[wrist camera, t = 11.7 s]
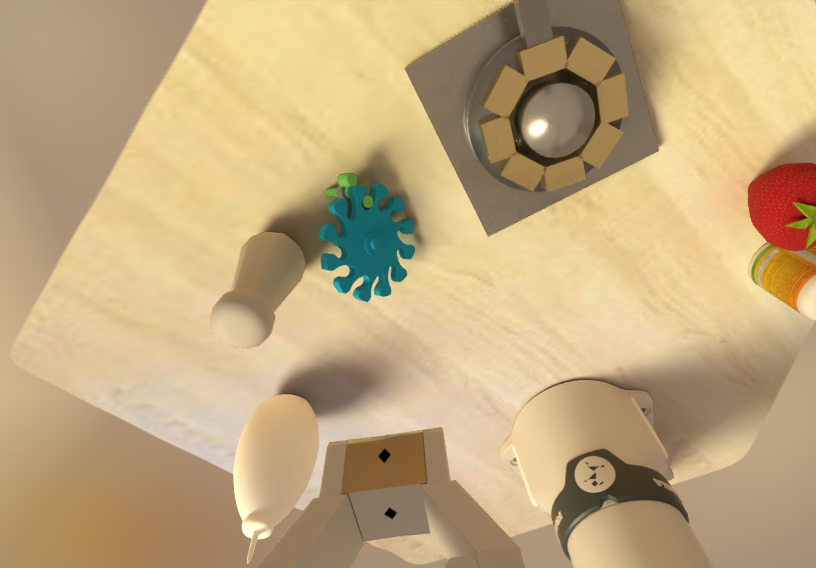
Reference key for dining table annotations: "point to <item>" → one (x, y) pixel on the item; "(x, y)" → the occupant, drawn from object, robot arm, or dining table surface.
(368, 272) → the teal virus model
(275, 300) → the salt shaker
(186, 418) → the dining table surface
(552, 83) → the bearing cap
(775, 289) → the supplement bottle
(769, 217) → the strawberry
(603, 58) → the ring nut
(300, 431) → the white air blower bulb
